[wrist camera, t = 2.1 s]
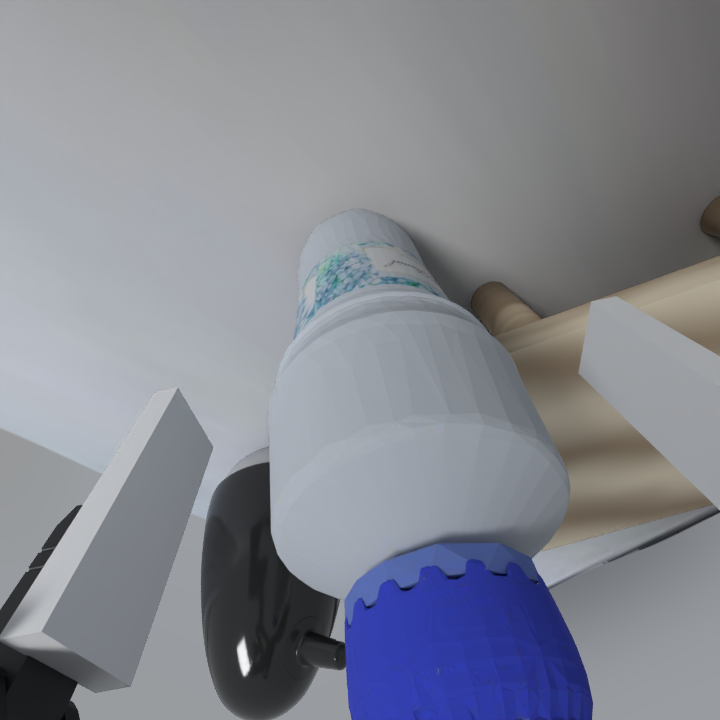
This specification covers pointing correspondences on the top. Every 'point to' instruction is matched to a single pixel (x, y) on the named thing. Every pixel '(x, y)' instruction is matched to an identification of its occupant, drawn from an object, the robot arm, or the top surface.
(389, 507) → the bottle
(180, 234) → the top surface
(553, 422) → the footstool
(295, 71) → the top surface
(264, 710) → the pump dispenser
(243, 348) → the top surface
